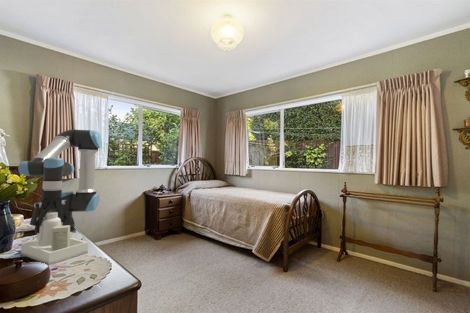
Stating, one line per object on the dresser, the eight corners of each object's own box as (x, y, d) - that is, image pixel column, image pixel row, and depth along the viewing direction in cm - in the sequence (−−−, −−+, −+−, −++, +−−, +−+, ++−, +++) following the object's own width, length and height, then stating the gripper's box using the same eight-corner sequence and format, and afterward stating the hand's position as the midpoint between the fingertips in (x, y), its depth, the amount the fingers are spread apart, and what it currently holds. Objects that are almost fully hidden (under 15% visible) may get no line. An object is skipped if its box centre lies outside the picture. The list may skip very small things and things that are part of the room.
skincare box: (69, 250, 111) (71, 224, 111) (67, 254, 107) (68, 227, 107) (53, 252, 108) (55, 225, 109) (50, 255, 104) (51, 228, 105)
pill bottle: (41, 248, 106) (43, 215, 107) (36, 244, 111) (38, 212, 112) (62, 243, 112) (63, 212, 113) (56, 240, 117) (58, 210, 118)
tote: (59, 244, 122) (59, 234, 122) (87, 252, 111) (88, 242, 111) (20, 254, 107) (21, 243, 108) (48, 265, 97) (49, 253, 97)
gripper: (70, 187, 124) (68, 231, 123) (21, 190, 105) (18, 242, 104) (79, 188, 120) (76, 233, 119) (30, 192, 102) (26, 245, 101)
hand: (49, 237), depth 112 cm, fingers closed on pill bottle, 8 cm apart
